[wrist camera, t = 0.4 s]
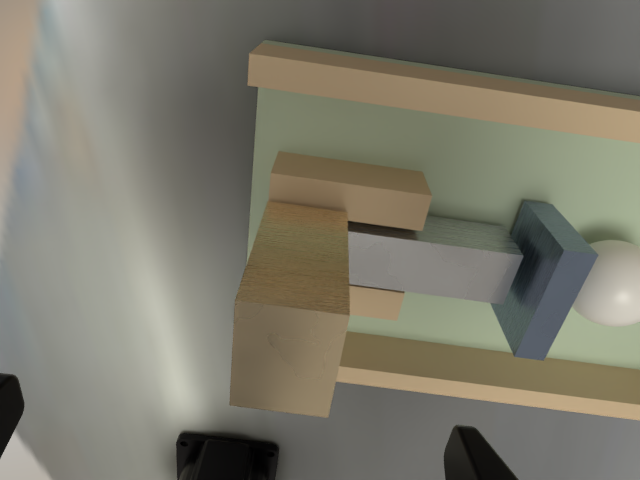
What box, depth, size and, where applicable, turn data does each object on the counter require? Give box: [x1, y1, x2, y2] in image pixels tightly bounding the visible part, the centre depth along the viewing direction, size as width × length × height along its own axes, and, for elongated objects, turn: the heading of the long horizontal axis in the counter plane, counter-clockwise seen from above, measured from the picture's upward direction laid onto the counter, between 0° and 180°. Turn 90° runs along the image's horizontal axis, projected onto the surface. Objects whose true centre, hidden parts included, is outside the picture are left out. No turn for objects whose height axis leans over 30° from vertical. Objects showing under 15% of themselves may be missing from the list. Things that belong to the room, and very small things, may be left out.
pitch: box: [247, 40, 640, 420], centre depth 20 cm, size 14×27×4 cm, turn 82°
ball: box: [572, 240, 640, 327], centre depth 19 cm, size 4×4×4 cm
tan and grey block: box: [230, 200, 598, 418], centre depth 17 cm, size 5×12×8 cm, turn 82°
